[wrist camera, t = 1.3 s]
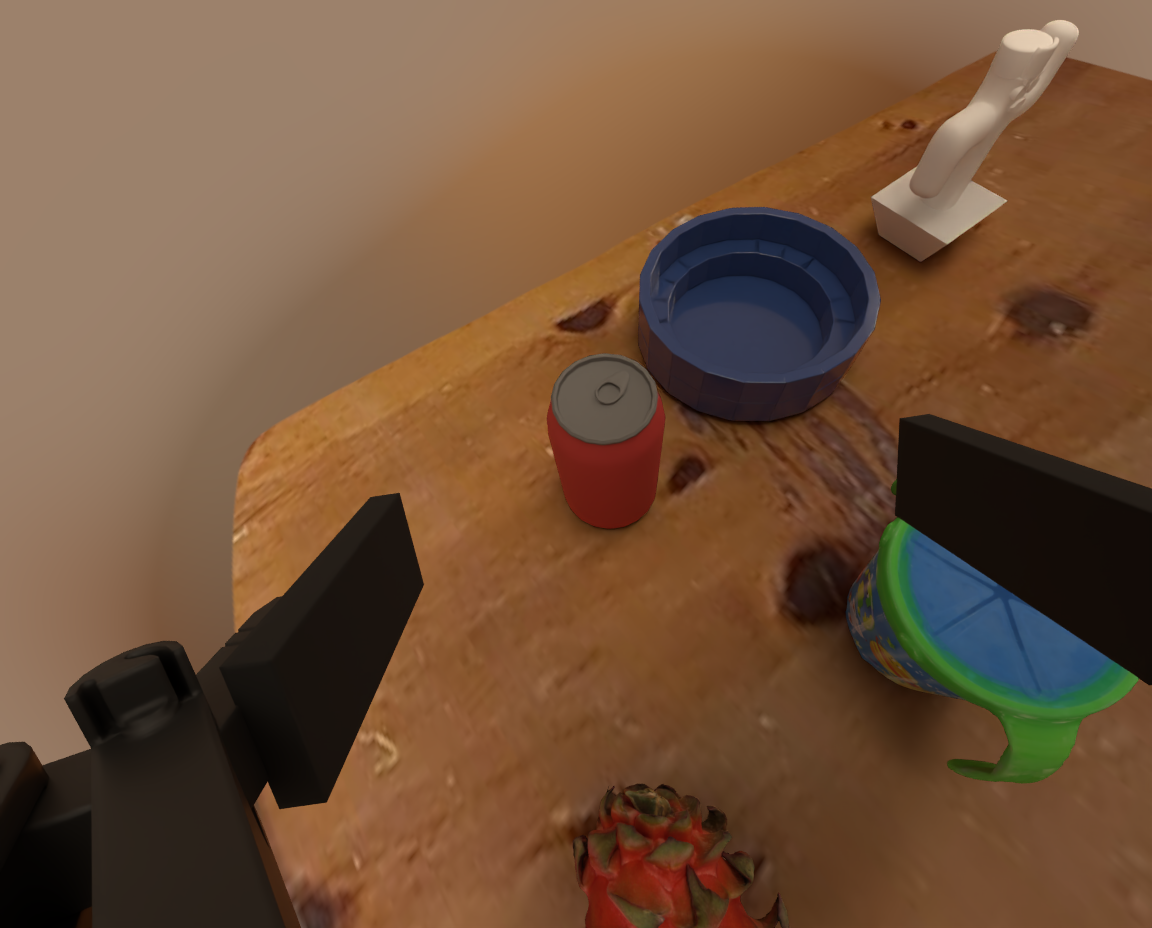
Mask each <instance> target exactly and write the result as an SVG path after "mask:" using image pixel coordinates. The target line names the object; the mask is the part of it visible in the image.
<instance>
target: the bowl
mask: <svg viewBox="0 0 1152 928" xmlns="http://www.w3.org/2000/svg"><path fill="white" fill-rule="evenodd" d="M880 302H881V299H880V294H879V290H878V285H877V281H876V277H875V273H874V271H873V269H872V268H871V267H870V265H869V264H868V262H867V261H866V259H865V258H864V256H863V255H862V254H861V252H860V251H859V249H858V248H857V247H856V246H855V245H854V244H852V243H851V242H850V241H849V240H847V239H846V238H845V237H843V236H842V235H841V234H840V233H838V232H837V231H836V230H834V229H833V228H832V227H829V226H827V225H825V224H822V223H820V222H818V221H815V220H813V219H811V218H809V217H806V216H804V215H802V214H799V213H794V212H788V211H783V210H778V209H773V208H767V207H766V208H765V207H745V208H729V209H725V210H720V211H716V212H712V213H708V214H704V215H700V216H697V217H696V218H694V219H692V220H690V221H688V222H686V223H684V224H682V225H680V226H678V227H677V228H675V229H673V230H672V231H671V232H670V233H669V234H668V235H667V236H666V237H665V238H664V239H663V240H662V241H661V242H660V243H658V244H657V245H656V246H655V247H654V248H653V249H652V250H651V252H650V254H649V257H648V259H647V261H646V263H645V265H644V267H643V269H642V272H641V274H640V292H639V326H638V345H639V348H640V350H641V353H642V356H643V358H644V361H645V363H646V366H647V369H648V370H649V371H650V373H651V374H652V375H653V376H654V377H655V378H656V379H657V381H658V382H659V383H660V384H661V385H662V386H663V388H664V389H665V390H666V391H667V392H668V393H669V394H671V395H672V396H674V397H676V398H677V399H679V400H680V401H682V402H684V403H685V404H687V405H689V406H690V407H692V408H693V409H695V410H697V411H700V412H703V413H707V414H710V415H714V416H717V417H720V418H724V419H727V420H734V421H772V420H775V419H779V418H783V417H787V416H791V415H795V414H799V413H802V412H804V411H806V410H807V409H809V408H811V407H812V406H814V405H815V404H817V403H819V402H820V401H822V400H823V399H825V398H827V397H828V396H830V395H831V394H832V392H833V391H834V390H835V388H836V387H837V386H838V384H839V383H840V382H841V380H842V379H843V378H844V377H845V375H846V374H847V373H848V371H849V369H850V368H851V366H852V365H853V363H854V361H855V360H856V358H857V357H858V355H859V353H860V352H861V350H862V349H863V347H864V345H865V344H866V342H867V341H868V339H869V337H870V336H871V334H872V333H873V331H874V329H875V325H876V320H877V316H878V311H879V307H880Z"/></svg>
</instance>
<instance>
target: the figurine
mask: <svg viewBox="0 0 1152 928" xmlns="http://www.w3.org/2000/svg"><path fill="white" fill-rule="evenodd" d="M1078 34H1079V31H1078V28H1077V27H1076V26H1075V25H1074V24H1073V23H1071V22H1068V21H1064V20H1055V21H1051V22H1050V23H1048V24H1046V25H1045V26H1044V27H1043V28H1042V29H1041V30H1040V31H1038V30H1031V29H1024V30H1016V31H1013V32H1010V33H1008V34H1007V35H1005V36H1004V38H1003V39H1002V41H1001V44H1000V46H999V48H998V50H997V53H996V55H995V57H994V59H993V61H992V64H991V66H990V69H989V71H988V73H987V75H986V77H985V79H984V81H983V82H982V84H981V86H980V88H979V89H978V91H977V93H976V94H975V96H974V97H973V99H972V100H971V102H970V103H969V105H968V106H967V108H965V109H964V110H962V111H961V112H959V113H958V114H956V115H955V116H953V117H951V118H950V119H948V120H947V121H946V122H945V123H944V124H943V125H942V126H941V127H940V128H939V129H938V130H937V132H936V133H935V135H934V136H933V138H932V139H931V141H930V143H929V145H928V147H927V149H926V150H925V152H924V154H923V156H922V158H921V160H920V162H919V164H918V166H917V167H915V168H914V169H912V170H911V171H909V172H908V173H906V174H905V175H903V176H902V177H900V178H899V179H897V180H896V181H894V182H893V183H891V184H890V185H888V186H887V187H885V188H884V189H882V190H881V191H879V192H878V193H876V194H875V195H873V196H872V197H871V200H872V205H873V210H874V215H875V219H876V224H877V229H878V234H879V235H880V236H881V237H883V238H884V239H886V240H887V241H889V242H890V243H892V244H894V245H895V246H897V247H898V248H900V249H901V250H903V251H904V252H906V253H907V254H909V255H911V256H912V257H914V258H915V259H917V260H918V261H920V262H921V261H923V260H925V259H926V258H928V257H929V256H931V255H932V254H934V253H935V252H937V251H938V250H940V249H941V248H943V247H944V246H946V245H947V244H949V243H950V242H952V241H953V240H954V239H956V238H957V237H958V236H960V235H961V234H963V233H964V232H965V231H967V230H968V229H970V228H971V227H972V226H974V225H975V224H976V223H978V222H979V221H981V220H982V219H983V218H985V217H986V216H988V215H989V214H990V213H992V212H993V211H995V210H996V209H997V208H999V207H1000V206H1001V205H1003V204H1004V203H1006V202H1007V200H1005V199H1004V198H1002V197H1000V196H998V195H996V194H994V193H993V192H991V191H989V190H987V189H985V188H984V187H982V186H980V185H978V184H976V183H975V182H973V181H971V179H972V178H973V176H974V174H975V173H976V171H977V170H978V168H979V166H980V165H981V163H982V162H983V160H984V158H985V157H986V155H987V154H988V152H989V151H990V149H991V147H992V146H993V144H994V143H995V141H996V140H997V138H998V137H999V135H1000V134H1001V133H1002V131H1003V130H1004V129H1005V127H1006V126H1007V125H1008V124H1009V123H1010V122H1011V121H1013V120H1014V119H1016V118H1017V117H1018V116H1020V115H1021V114H1023V113H1024V112H1026V111H1027V110H1028V109H1029V108H1030V107H1031V106H1032V105H1033V104H1034V103H1035V102H1036V101H1037V100H1038V99H1039V97H1040V96H1041V95H1042V93H1043V92H1044V90H1045V89H1046V87H1047V86H1048V84H1049V83H1050V81H1051V80H1052V78H1053V77H1054V75H1055V74H1056V72H1057V71H1058V69H1059V68H1060V66H1061V64H1062V63H1063V61H1064V60H1065V58H1066V57H1067V55H1068V53H1069V52H1070V51H1071V49H1072V48H1073V46H1074V44H1075V43H1076V40H1077V38H1078Z"/></svg>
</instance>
